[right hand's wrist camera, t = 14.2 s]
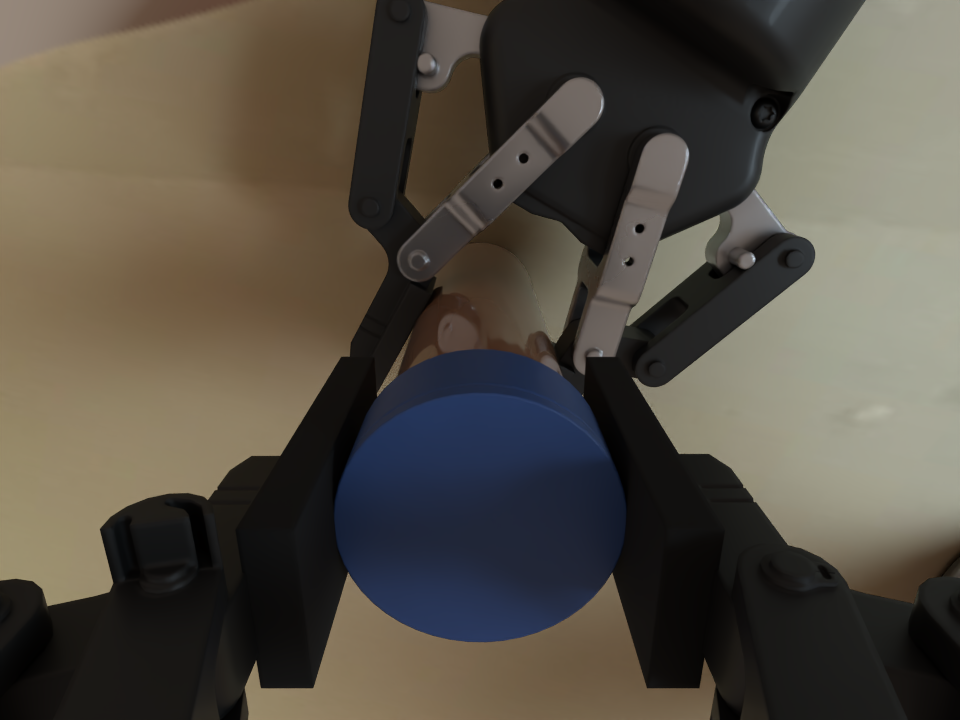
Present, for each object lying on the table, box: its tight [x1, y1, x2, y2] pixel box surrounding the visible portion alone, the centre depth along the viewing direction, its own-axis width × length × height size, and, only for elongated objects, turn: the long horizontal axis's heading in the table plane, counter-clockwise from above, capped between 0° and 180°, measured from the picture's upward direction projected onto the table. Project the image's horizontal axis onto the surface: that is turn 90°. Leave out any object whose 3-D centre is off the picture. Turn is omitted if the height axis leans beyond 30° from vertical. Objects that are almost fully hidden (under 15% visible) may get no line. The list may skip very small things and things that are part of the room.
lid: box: [334, 349, 627, 642], centre depth 11 cm, size 5×5×2 cm
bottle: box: [397, 242, 563, 377], centre depth 18 cm, size 4×4×15 cm
